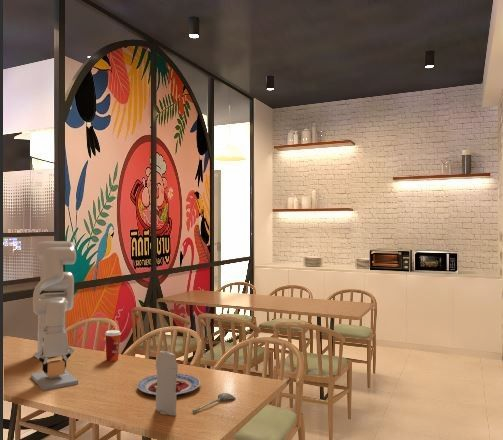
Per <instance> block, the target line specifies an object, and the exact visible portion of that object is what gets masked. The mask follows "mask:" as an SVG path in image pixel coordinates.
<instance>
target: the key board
mask: <svg viewBox="0 0 503 440" xmlns="http://www.w3.org/2000/svg"><path fill="white" fill-rule="evenodd" d="M31 377H32V378H31ZM30 378H31V380H33V382H35V384H36V383H37V384H38V385H39V386H38V385H37V384H36V385H37V386H38V387H39V389H41V390H42V392H44V391H48V390H53V389H59V388H64V387H68V386H75V385H79V380H78V378H76V377H75V376H74V375H72V373H70V372H69V371H68V370H67V369H65V374H62V375H56V376H51V377H48V376H47V375H46V374H45V373H44V371H40V372H34V373H30Z"/></svg>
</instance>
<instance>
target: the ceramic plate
mask: <svg viewBox="0 0 503 440" xmlns="http://www.w3.org/2000/svg"><path fill="white" fill-rule="evenodd" d="M136 386H137V388H138V390H140V391H141V392H143V393H145V394H148V395H149V394H150V395H153V396H154V395H155V396H156V389H157V374H154V375H150V376H147V377H145V378H143V379H141V380H140V381H138V383H137V385H136ZM199 386H201V381H200V379H199V378H197V376H196V377H195V376H193V375H190V374H187V373H185V374H184V373H177V375H176V395H182V394H188V393H189V392H192V391H194V390H196V389H198V388H199Z"/></svg>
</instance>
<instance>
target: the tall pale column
mask: <svg viewBox="0 0 503 440" xmlns="http://www.w3.org/2000/svg"><path fill="white" fill-rule="evenodd" d="M176 359H177V358H176V354H175V353H172V352H170V351H165V350H161V351H159V352H158V356H157V358H156V360H155V369H156V375H157V389H156V395H155V411H156V412H158V413H159V414H161V415H167V416H170V417H176V416H177V394H176V375H177V374H179V373H178V370H179V364H178V362H177V360H176Z"/></svg>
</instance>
